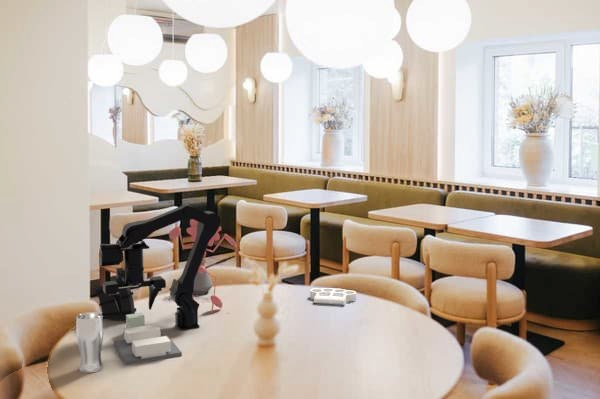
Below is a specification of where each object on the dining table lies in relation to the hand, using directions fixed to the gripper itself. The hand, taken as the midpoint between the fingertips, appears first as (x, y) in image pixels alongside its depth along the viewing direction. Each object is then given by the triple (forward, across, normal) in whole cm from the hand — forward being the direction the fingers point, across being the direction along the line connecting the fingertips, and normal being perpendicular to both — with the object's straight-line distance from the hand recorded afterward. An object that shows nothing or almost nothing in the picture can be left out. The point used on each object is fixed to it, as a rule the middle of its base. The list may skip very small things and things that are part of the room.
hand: (135, 311), depth 199 cm
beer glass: (+8, +17, +24) cm, 30 cm away
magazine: (+8, +3, -18) cm, 20 cm away
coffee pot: (+8, -37, -38) cm, 54 cm away
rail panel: (+7, 0, +16) cm, 18 cm away
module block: (+7, 0, 0) cm, 7 cm away
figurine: (+8, -29, -18) cm, 35 cm away
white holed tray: (+8, -76, -7) cm, 77 cm away
